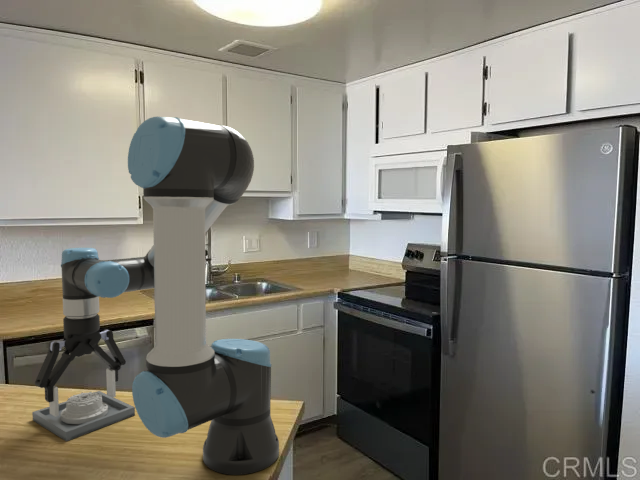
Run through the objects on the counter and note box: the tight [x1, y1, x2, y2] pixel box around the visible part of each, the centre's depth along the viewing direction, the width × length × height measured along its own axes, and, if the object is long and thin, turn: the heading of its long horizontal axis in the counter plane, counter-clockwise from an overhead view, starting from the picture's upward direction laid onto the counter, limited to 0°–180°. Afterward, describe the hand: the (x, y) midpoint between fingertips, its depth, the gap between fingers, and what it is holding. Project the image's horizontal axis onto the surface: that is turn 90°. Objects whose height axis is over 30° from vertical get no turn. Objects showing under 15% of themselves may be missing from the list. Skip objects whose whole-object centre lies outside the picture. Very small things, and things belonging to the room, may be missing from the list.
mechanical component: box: [61, 391, 108, 424], centre depth 113 cm, size 10×4×10 cm
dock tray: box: [32, 390, 136, 442], centre depth 113 cm, size 16×16×2 cm
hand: (84, 404), depth 113 cm, fingers open, 13 cm apart
